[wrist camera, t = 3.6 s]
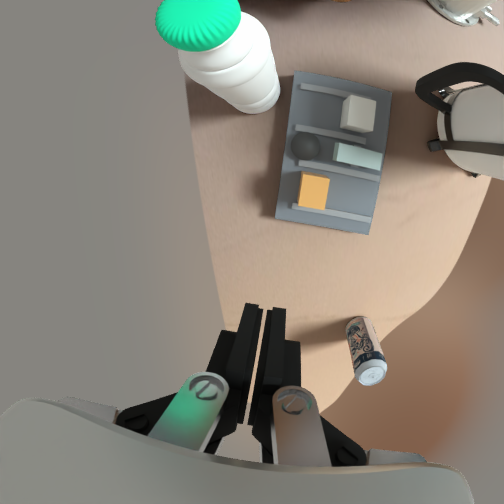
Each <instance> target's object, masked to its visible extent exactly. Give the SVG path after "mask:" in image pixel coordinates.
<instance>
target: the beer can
mask: <svg viewBox="0 0 504 504" xmlns="http://www.w3.org/2000/svg"><path fill="white" fill-rule="evenodd" d="M346 335H347V340H348V344H349V349H350V353H351V358H352V363H353V368H354V373H355V378H356V379H357V380H358V381H359V382H360V383H362V384H363V385H373V384H376V383H379V382H380V381H381V380H382V379H383V378H384V377H385V373H386V371H387V364H386V361H385V358H384V356H383V352H382V349H381V347H380V344H379V341H378V338H377V335H376V332H375V330H374V327H373V324H372V322H371V320H370V319H368V318H366V317H357V318H355V319H352V320H351V321H350V322H349V323H348V324H347V326H346Z"/></svg>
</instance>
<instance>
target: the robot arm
mask: <svg viewBox="0 0 504 504" xmlns="http://www.w3.org/2000/svg"><path fill="white" fill-rule="evenodd" d="M496 1H498V0H428V2H429V3H430V4H431V5H432V6H433V7H434V8H435V9H436V10H437V11H438V12H439V13H441V14H442V15H443V16H445V17H446V18H447V19H449V20H451V21H452V22H454V23H457V24H459V25H462V26H473V25H475V24H476V23H477V22H478V20H479V17H481V18H486V19H487V20H488V21H489V22H491V23H492V24H494V25H495V26H498V25H499V19H498V18H496V17H495V16H494V15H492V14H491V13H489V12H490V11H491V10H492V9H491V7H490V6H489V5H491V4H493V3H494V2H496ZM487 11H489V12H487ZM258 307H259V305H257V304H250V303H245V307H244V310H243V314H242V317H241V321H240V324H239V327H238V331H237V332H232V331H227V330H222V331H221V332H220V335H219V338H218V340H217V344H216V346H215V348H214V351H213V354H212V356H211V359H210V362H209V365H208V367H207V370H206V372H200V373H196V374H194V375H192V376H190V377H189V378H188V379H187V380H186V381H185V383H184V384H183V386H182V387H181V389H180V390H179V392H177V393H174V394H171V395H168V396H166V397H162V398H159V399H156V400H153V401H150V402H147V403H143V404H140V405H137V406H133V407H130V408H127V409H125V410H123V411H121V410H118V409H117V407H114V406H108V405H103V404H98V403H94V402H90V401H85V400H81V399H77V398H73V397H66V398H62V399H60V400H59V401H58V402H57V401H53V400H48V399H42V398H25V399H22V400H19V401H17V402H16V403H14V404H13V405H12V406H10V407H9V408H8V409H7V410H6V411H5V412H4V413H3V414H2V415H1V416H0V504H475V503H474V500H473V496H472V493H471V490H470V488H469V486H468V483H467V481H466V479H465V478H464V476H463V475H462V474H461V473H460V471H458V470H456V469H455V468H453V467H450V466H447V465H443V464H437V463H430V462H427V461H426V460H425V459H424V457H422V456H421V455H419V454H416V453H406V452H395V451H385V450H377V449H370V450H369V451H366V450H363V448H361V447H360V446H359V445H358V444H357V443H355V442H354V441H353V440H351V439H350V438H349V437H347V436H346V435H344V434H343V433H342V432H341V431H339V430H338V429H337V428H335V427H334V426H333V425H332V424H330V423H329V422H328V421H327V420H325V419H324V418H323V417H322V416H320V414H319V410H318V406H317V402H316V399H315V397H314V396H313V394H312V393H311V392H310V391H308V390H306V389H305V388H302V387H301V352H300V342H298V341H290V340H285V322H286V309H283V308H276V307H273V309H272V310H267V315H266V321H265V327H264V333H263V338H262V344H261V350H260V355H259V361H258V367H257V373H256V379H255V385H254V391H253V396H252V402H251V408H250V413H249V419H248V425H252V426H253V428H252V435H253V436H254V437H255V438H256V439H257V440H258V441H259V442H260V444H259V455H260V463H259V462H251V461H244V460H238V459H233V458H227V457H222V456H217V454H218V452H219V450H220V448H221V446H222V443H223V441H224V438H225V436H227V435H229V434H231V433H233V432H235V430H236V427H237V423H239V424H243V421H244V416H245V410H246V405H247V400H248V395H249V390H250V384H251V379H252V373H253V368H254V363H255V357H256V351H257V345H258V339H259V332H260V326H261V320H262V314H263V309H260V308H258Z"/></svg>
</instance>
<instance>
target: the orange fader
mask: <svg viewBox="0 0 504 504" xmlns="http://www.w3.org/2000/svg"><path fill="white" fill-rule="evenodd" d="M329 182H330V179H329V178H328V177H327V176H326V175H323V174H317V173H312V172H306V171H302V172H301V178H300V185H299V191H298V197H297V199H298V206H303V207H309V208H314V209H320V210H325V204H326V199H327V193H328V188H329Z"/></svg>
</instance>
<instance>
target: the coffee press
mask: <svg viewBox="0 0 504 504" xmlns="http://www.w3.org/2000/svg"><path fill="white" fill-rule="evenodd" d="M467 81H473V82H479V83H483V84H479V85H475V86H470V87H466V88H462V89H458V90H453V89H451V88H450V87H448V86H451V85H455V84H458V83H462V82H467ZM482 85H483V86H482ZM478 86H479V87H478ZM469 88H470V89H469ZM465 89H466V90H465ZM436 90H439V93H440V94H441V96H443V97H444V98H445V99H444V100H441V99H440V98H438V97H436V96H435V95H434V94H432V93H431V92H433V91H436ZM415 92H416V94H417V95H418V97H419V98H421V99H422V100H423V101H425V102H426V103H428V104H429V105H431V106H433V107H434V108H436V109H438V110H439V112H438V118H437V128H438V134H439V138H438V139H435V140H431V141H429V142H427V145H428V147H429V150H430V152H433V151H437V150H443V149H444V150H445V152H446V154H447V155H448V157H449V158H450V159H451V160H452V161H453V162H454V163H455V164H456V165H457V166H459V167H460V168H462V169H464V170H467V171H470V172H471V174H472V175H473V177H475V178H476V177H478V176H480V175H481V174H482V175H486V176H490V177H494V178H498V179H501V180H504V75H503V74H501V73H500V72H498V71H496V70H494V69H492V68H490V67H487V66H484V65H481V64H477V63H470V62H460V63H454V64H451V65H448V66H445V67H443V68H440V69H438V70H436V71H434V72H432V73H429V74H427V75H425V76H423V77H422V78H420V79H419V80H418V81H417V83H416V88H415ZM447 92H448V93H452V94H450V95H449V94H448V93H447ZM453 92H455V93H453Z"/></svg>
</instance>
